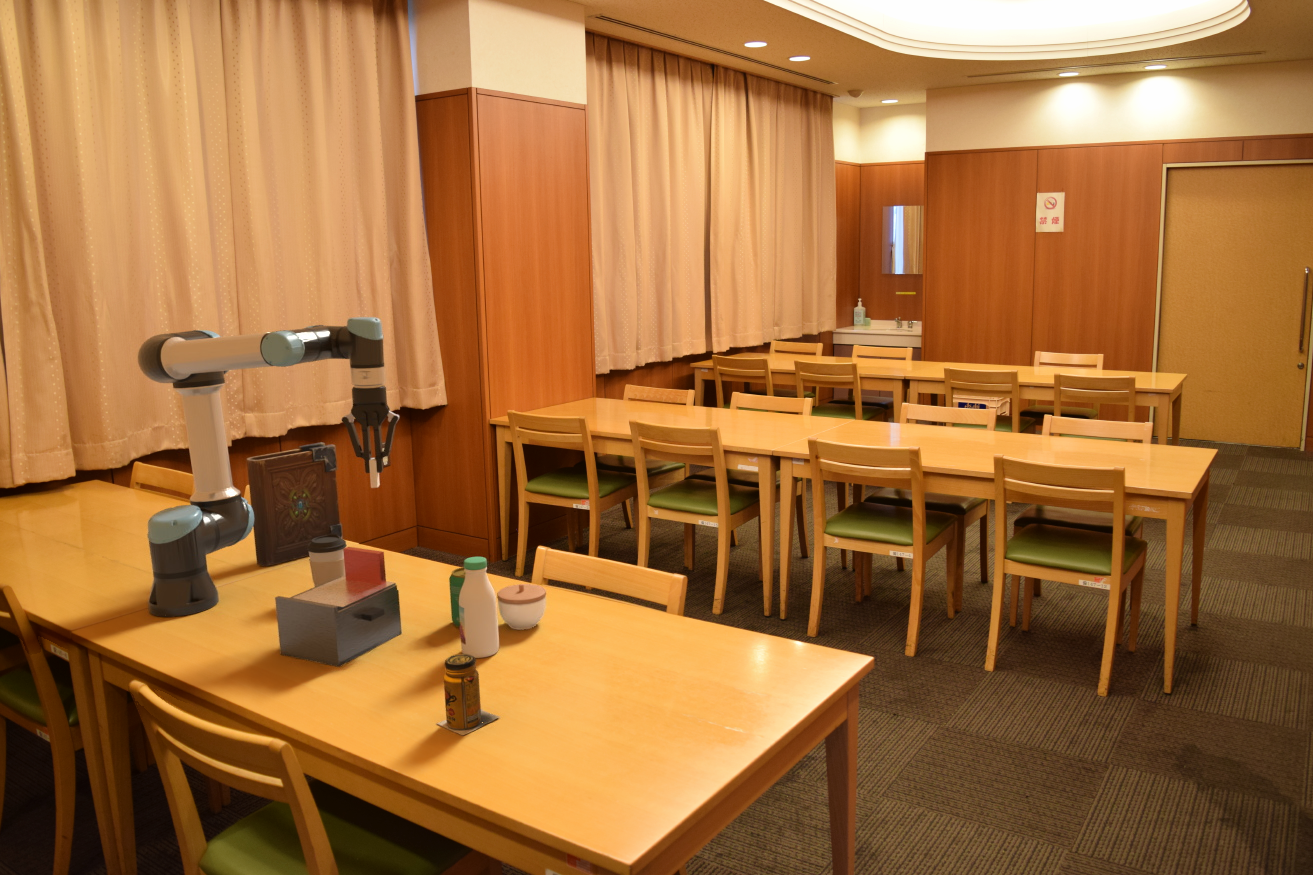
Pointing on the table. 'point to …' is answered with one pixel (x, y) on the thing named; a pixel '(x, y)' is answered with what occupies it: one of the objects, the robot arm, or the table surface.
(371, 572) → the lid
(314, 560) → the coffee cup
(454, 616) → the beverage can
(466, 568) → the milk bottle
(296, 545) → the decorative book
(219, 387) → the robot arm
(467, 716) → the condiment
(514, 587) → the lidded jar
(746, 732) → the table surface
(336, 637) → the gray drawer chest
